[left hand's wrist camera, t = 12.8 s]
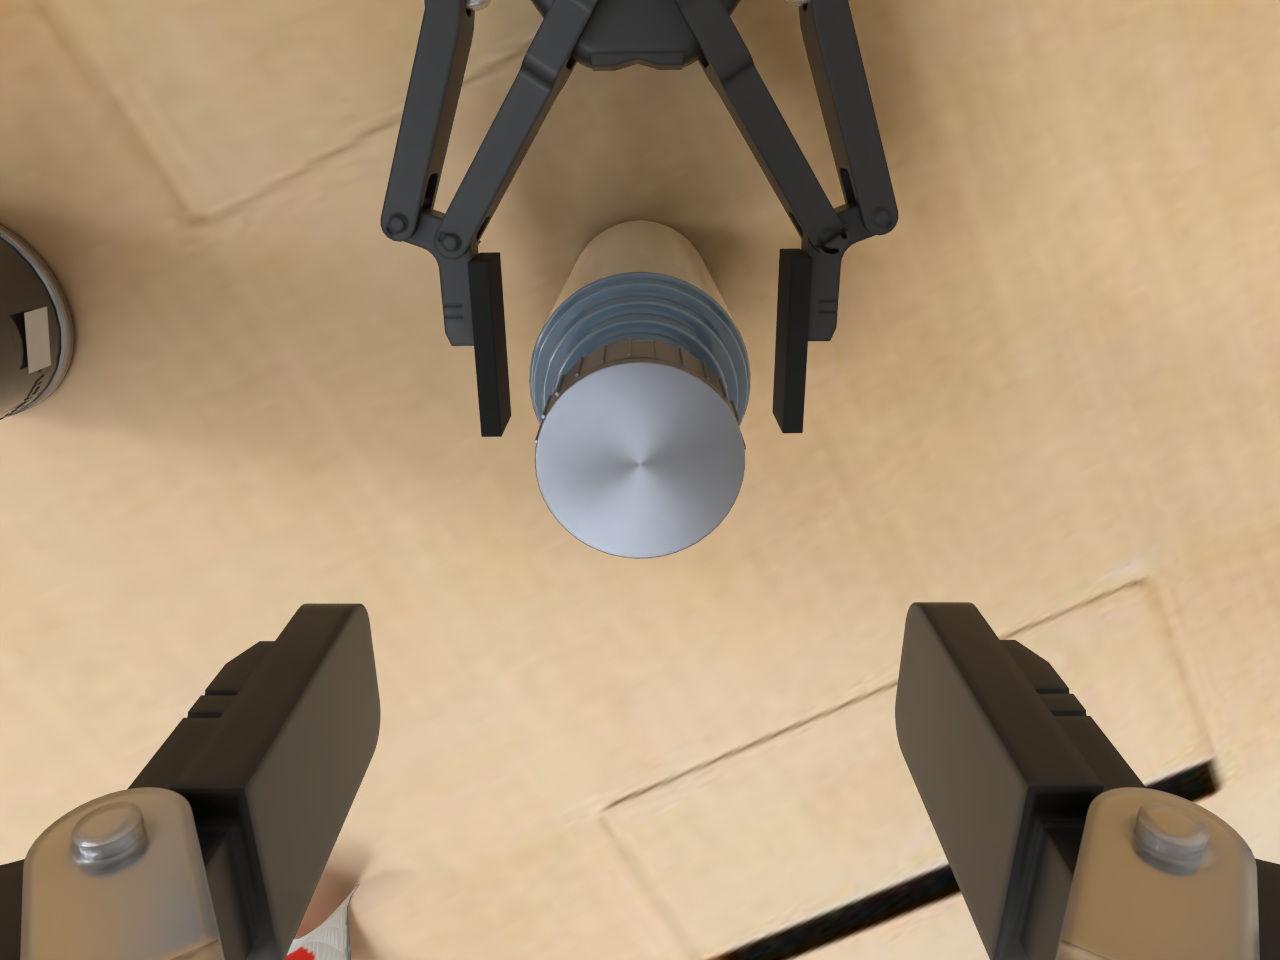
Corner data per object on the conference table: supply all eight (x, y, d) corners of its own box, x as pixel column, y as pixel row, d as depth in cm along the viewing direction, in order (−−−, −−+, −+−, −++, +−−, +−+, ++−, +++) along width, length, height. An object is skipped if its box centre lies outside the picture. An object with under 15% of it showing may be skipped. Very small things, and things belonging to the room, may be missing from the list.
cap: (519, 362, 20) (506, 387, 18) (716, 316, 20) (724, 336, 18) (571, 539, 22) (564, 579, 20) (753, 500, 21) (764, 537, 19)
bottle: (554, 239, 39) (458, 353, 18) (693, 204, 38) (754, 283, 18) (590, 373, 41) (540, 609, 20) (721, 343, 40) (805, 554, 20)
